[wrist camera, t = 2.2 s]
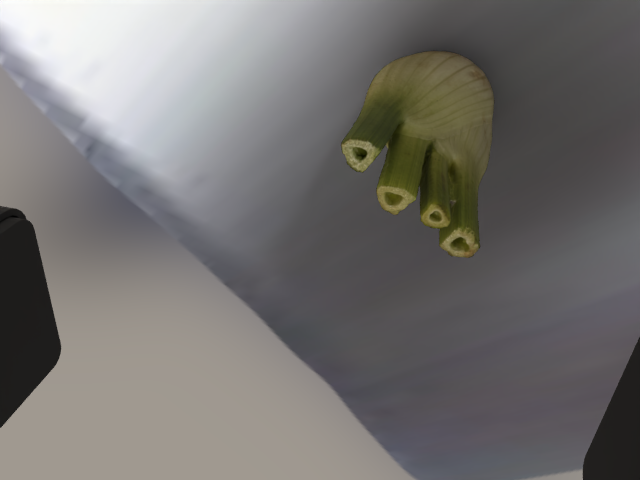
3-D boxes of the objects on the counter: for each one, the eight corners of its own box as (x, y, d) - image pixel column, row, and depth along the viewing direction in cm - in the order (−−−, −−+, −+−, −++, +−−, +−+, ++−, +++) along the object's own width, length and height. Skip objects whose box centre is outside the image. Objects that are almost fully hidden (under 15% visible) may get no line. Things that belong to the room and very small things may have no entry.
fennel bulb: (373, 55, 28) (315, 150, 18) (473, 16, 26) (467, 98, 16) (413, 159, 31) (380, 293, 21) (507, 130, 29) (521, 263, 19)
